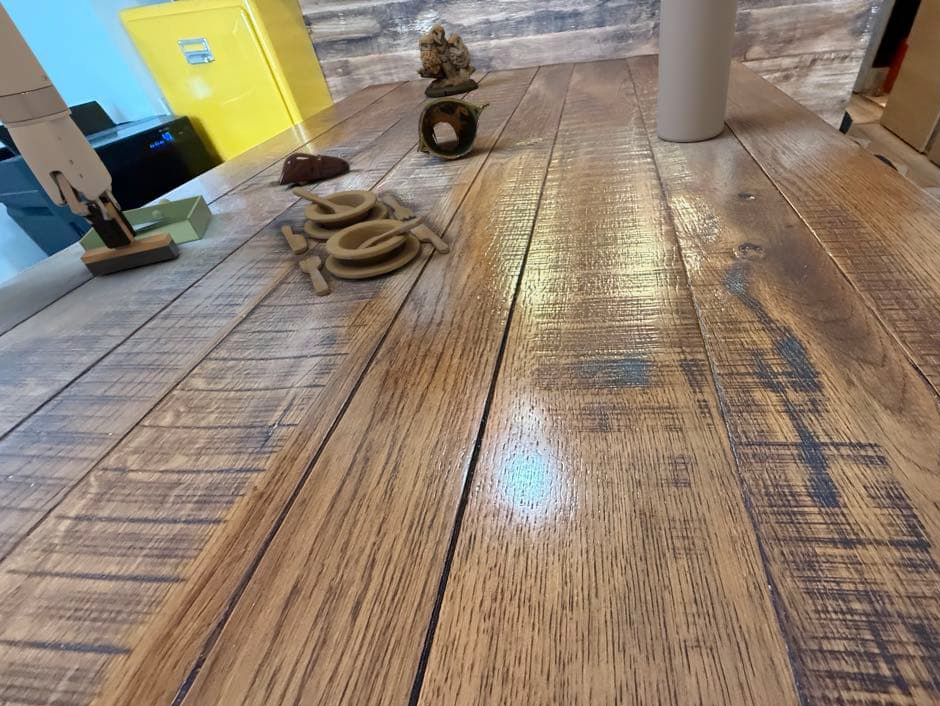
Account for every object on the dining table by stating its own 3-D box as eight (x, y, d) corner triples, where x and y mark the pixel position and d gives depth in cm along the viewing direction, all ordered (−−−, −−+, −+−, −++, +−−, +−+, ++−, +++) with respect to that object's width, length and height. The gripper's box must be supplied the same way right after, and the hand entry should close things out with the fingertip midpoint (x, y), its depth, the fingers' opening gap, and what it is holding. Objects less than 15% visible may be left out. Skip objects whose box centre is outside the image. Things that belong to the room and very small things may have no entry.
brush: (93, 276, 79) (49, 219, 73) (99, 268, 81) (57, 212, 75) (175, 257, 81) (139, 200, 75) (179, 250, 83) (145, 193, 77)
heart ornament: (288, 199, 106) (297, 155, 108) (346, 203, 106) (353, 159, 108) (273, 178, 99) (282, 132, 102) (334, 182, 99) (343, 136, 102)
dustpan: (201, 238, 87) (189, 217, 84) (94, 263, 84) (78, 242, 81) (218, 202, 101) (207, 183, 98) (126, 222, 98) (113, 203, 96)
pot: (465, 88, 112) (473, 68, 96) (493, 138, 117) (505, 127, 100) (400, 131, 112) (397, 119, 96) (430, 180, 117) (432, 176, 101)
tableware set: (281, 231, 85) (264, 195, 81) (392, 197, 91) (382, 162, 87) (318, 301, 65) (297, 257, 61) (458, 252, 71) (448, 209, 67)
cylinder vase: (647, 131, 103) (650, -30, 87) (706, 120, 104) (721, -41, 87) (670, 147, 94) (679, -30, 77) (734, 135, 95) (757, -42, 78)
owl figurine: (428, 101, 152) (411, 31, 141) (418, 95, 161) (402, 29, 149) (483, 88, 157) (472, 19, 145) (471, 83, 165) (460, 18, 154)
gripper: (25, 102, 71) (113, 229, 84) (-34, 126, 60) (78, 270, 72) (83, 92, 73) (161, 219, 85) (37, 113, 61) (135, 257, 73)
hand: (123, 241), depth 78 cm, fingers closed on brush, 2 cm apart
